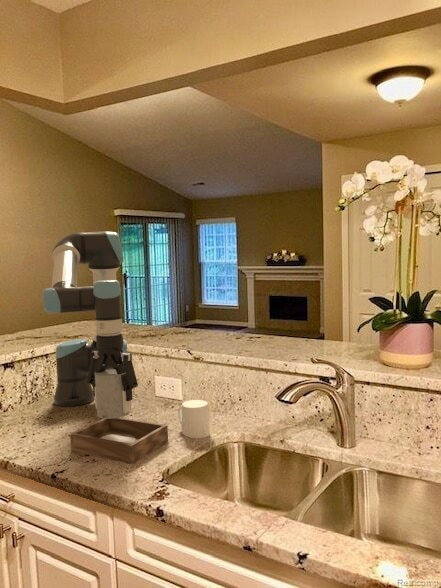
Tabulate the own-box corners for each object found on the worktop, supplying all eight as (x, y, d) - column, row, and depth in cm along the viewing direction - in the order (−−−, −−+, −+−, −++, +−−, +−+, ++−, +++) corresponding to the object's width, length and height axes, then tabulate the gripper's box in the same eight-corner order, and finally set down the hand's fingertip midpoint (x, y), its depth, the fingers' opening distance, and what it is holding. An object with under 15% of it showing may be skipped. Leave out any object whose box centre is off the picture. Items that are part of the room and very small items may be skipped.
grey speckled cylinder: (104, 421, 138) (102, 377, 137) (91, 412, 146) (89, 371, 145) (135, 413, 143) (133, 372, 142) (121, 406, 151) (119, 366, 150)
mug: (215, 403, 152) (196, 409, 146) (216, 433, 153) (197, 440, 147) (188, 396, 160) (169, 402, 154) (189, 424, 161) (170, 431, 155)
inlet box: (110, 431, 157) (109, 415, 157) (168, 441, 147) (167, 425, 146) (71, 450, 142) (70, 434, 142) (132, 464, 132) (131, 445, 131)
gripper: (71, 334, 144) (75, 408, 146) (132, 337, 134) (136, 418, 136) (89, 330, 151) (93, 401, 153) (148, 333, 141) (152, 410, 143)
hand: (113, 409), depth 144 cm, fingers closed on grey speckled cylinder, 9 cm apart
